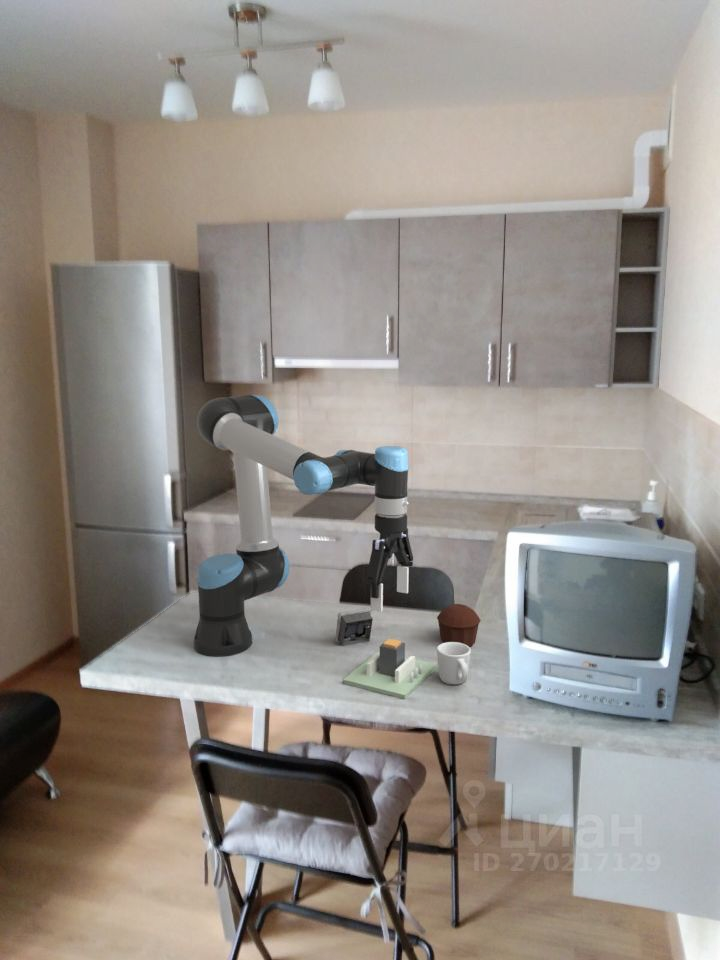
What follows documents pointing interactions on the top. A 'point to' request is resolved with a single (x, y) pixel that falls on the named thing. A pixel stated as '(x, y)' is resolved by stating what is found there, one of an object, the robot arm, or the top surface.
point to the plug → (391, 656)
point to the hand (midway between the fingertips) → (390, 601)
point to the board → (397, 686)
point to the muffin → (458, 624)
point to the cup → (453, 662)
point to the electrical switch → (354, 627)
